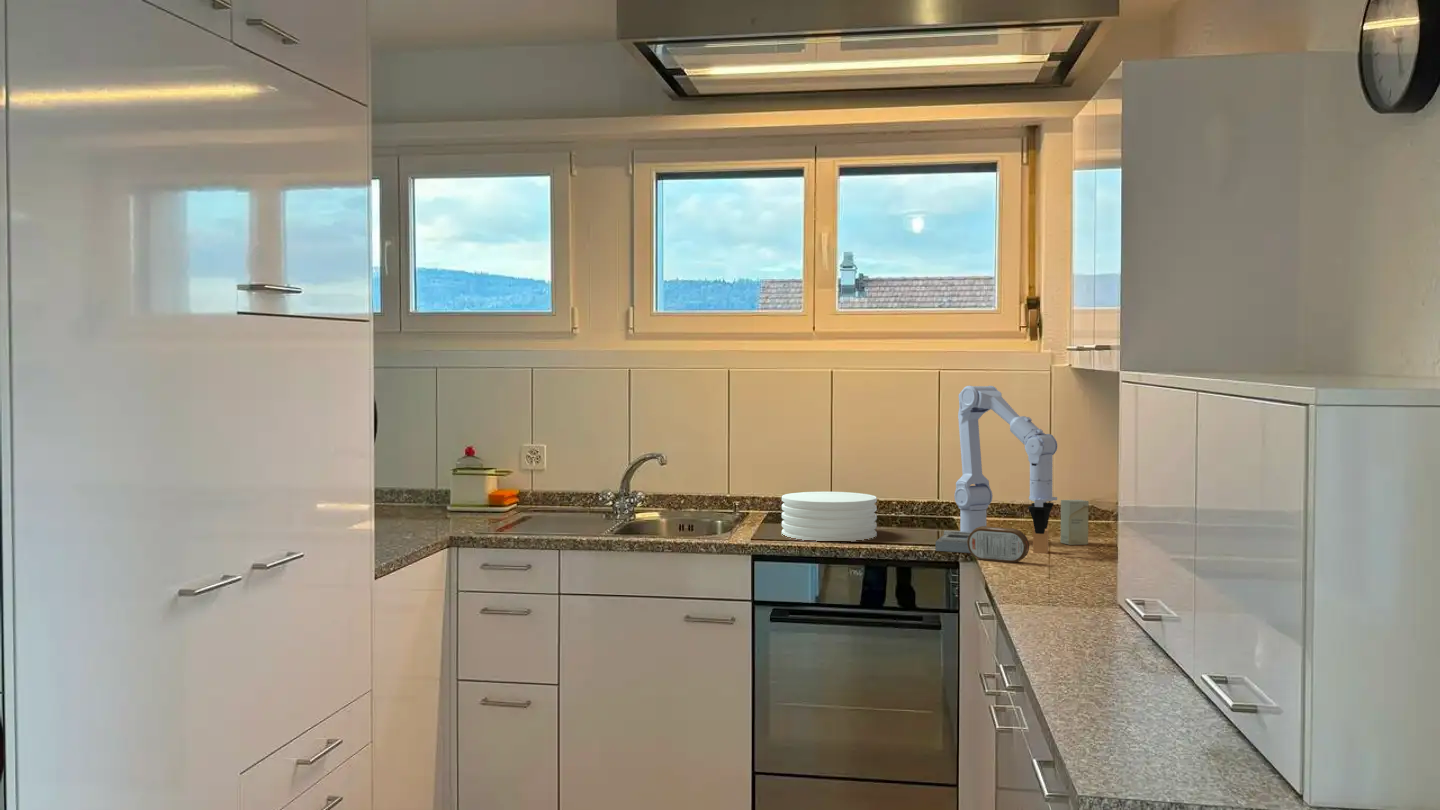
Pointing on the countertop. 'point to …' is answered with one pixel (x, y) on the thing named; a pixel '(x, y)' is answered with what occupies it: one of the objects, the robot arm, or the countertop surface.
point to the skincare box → (1074, 522)
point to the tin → (998, 544)
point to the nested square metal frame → (953, 541)
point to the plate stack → (829, 516)
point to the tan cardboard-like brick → (1040, 542)
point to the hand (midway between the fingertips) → (1041, 531)
